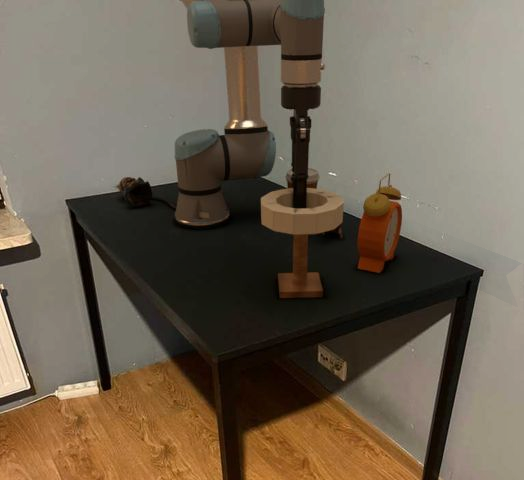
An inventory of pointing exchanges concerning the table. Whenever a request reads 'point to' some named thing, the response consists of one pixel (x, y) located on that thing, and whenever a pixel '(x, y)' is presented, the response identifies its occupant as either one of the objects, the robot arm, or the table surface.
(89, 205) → the table surface
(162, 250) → the table surface
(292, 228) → the ring
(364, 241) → the alarm clock
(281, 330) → the table surface
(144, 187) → the figurine
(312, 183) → the disposable coffee cup
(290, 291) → the stand
